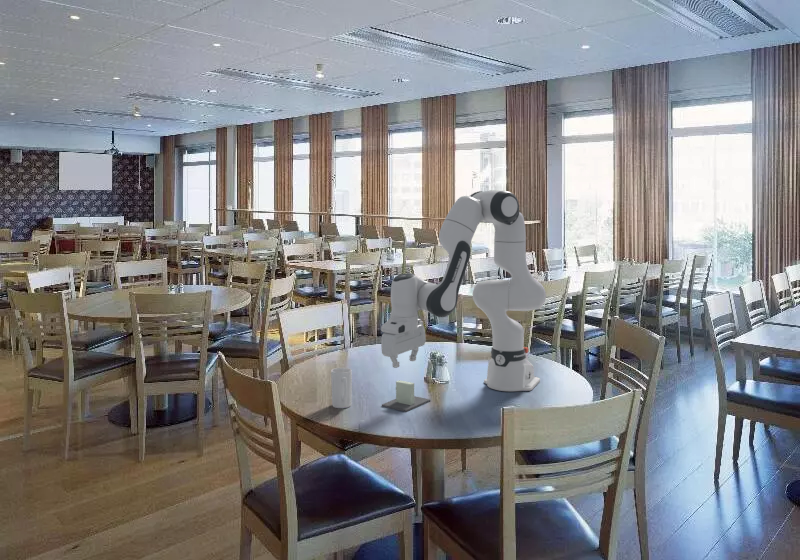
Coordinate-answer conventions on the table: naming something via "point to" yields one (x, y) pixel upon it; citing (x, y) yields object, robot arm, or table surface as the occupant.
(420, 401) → the mat
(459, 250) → the robot arm
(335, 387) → the mug
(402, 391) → the block
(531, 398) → the table surface
